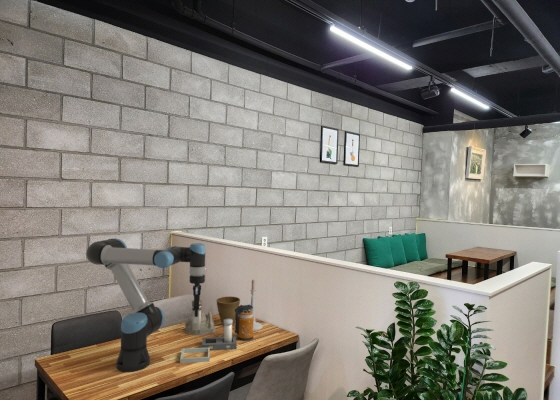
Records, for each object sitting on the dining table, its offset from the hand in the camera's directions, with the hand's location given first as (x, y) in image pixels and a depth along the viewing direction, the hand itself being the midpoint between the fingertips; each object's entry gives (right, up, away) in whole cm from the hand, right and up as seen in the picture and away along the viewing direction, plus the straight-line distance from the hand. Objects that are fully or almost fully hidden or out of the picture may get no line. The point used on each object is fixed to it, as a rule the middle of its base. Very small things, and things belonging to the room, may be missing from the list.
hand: (196, 320), depth 190 cm
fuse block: (+9, -19, +14) cm, 26 cm away
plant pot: (+9, -19, +51) cm, 55 cm away
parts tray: (-1, -19, 0) cm, 19 cm away
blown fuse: (0, -4, 0) cm, 4 cm away
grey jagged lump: (-6, -19, +37) cm, 42 cm away
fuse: (+14, -18, +15) cm, 27 cm away
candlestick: (+25, -19, +48) cm, 57 cm away
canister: (+21, -20, +27) cm, 39 cm away
